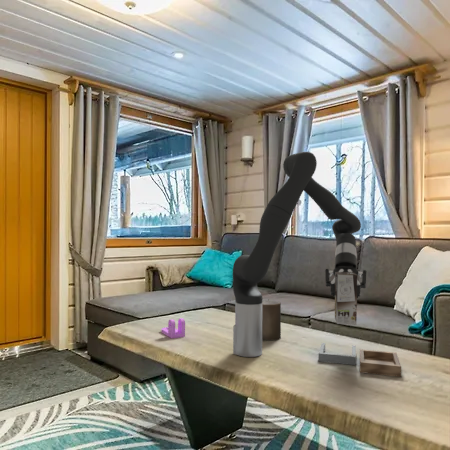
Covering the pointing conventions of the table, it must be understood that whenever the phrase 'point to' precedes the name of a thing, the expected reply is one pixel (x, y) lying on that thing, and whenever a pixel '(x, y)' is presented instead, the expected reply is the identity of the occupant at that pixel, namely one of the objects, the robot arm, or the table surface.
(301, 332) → the table surface
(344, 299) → the coffee box
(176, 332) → the bracket
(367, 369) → the tray
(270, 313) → the pillar candle
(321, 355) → the bay
